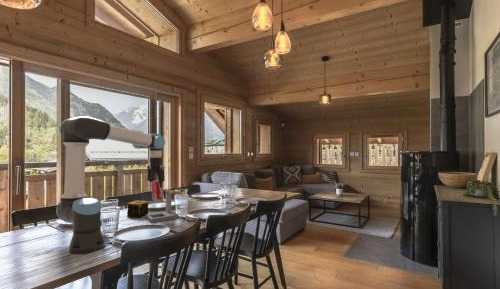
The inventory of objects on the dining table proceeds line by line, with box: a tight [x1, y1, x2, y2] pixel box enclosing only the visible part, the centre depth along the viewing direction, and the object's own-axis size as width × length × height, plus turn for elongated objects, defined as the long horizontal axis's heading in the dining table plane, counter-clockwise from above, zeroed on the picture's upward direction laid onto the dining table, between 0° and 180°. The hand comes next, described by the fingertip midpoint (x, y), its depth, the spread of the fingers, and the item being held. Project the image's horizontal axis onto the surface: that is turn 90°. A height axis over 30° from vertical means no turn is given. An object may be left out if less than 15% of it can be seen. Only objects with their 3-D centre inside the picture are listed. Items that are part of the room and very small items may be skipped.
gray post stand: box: [144, 193, 179, 223], centre depth 187 cm, size 18×14×15 cm
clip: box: [165, 188, 186, 196], centre depth 191 cm, size 15×4×3 cm, turn 67°
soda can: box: [151, 179, 164, 202], centre depth 184 cm, size 7×7×13 cm
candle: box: [126, 200, 149, 219], centre depth 192 cm, size 10×10×10 cm
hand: (156, 191), depth 184 cm, fingers closed on soda can, 6 cm apart
